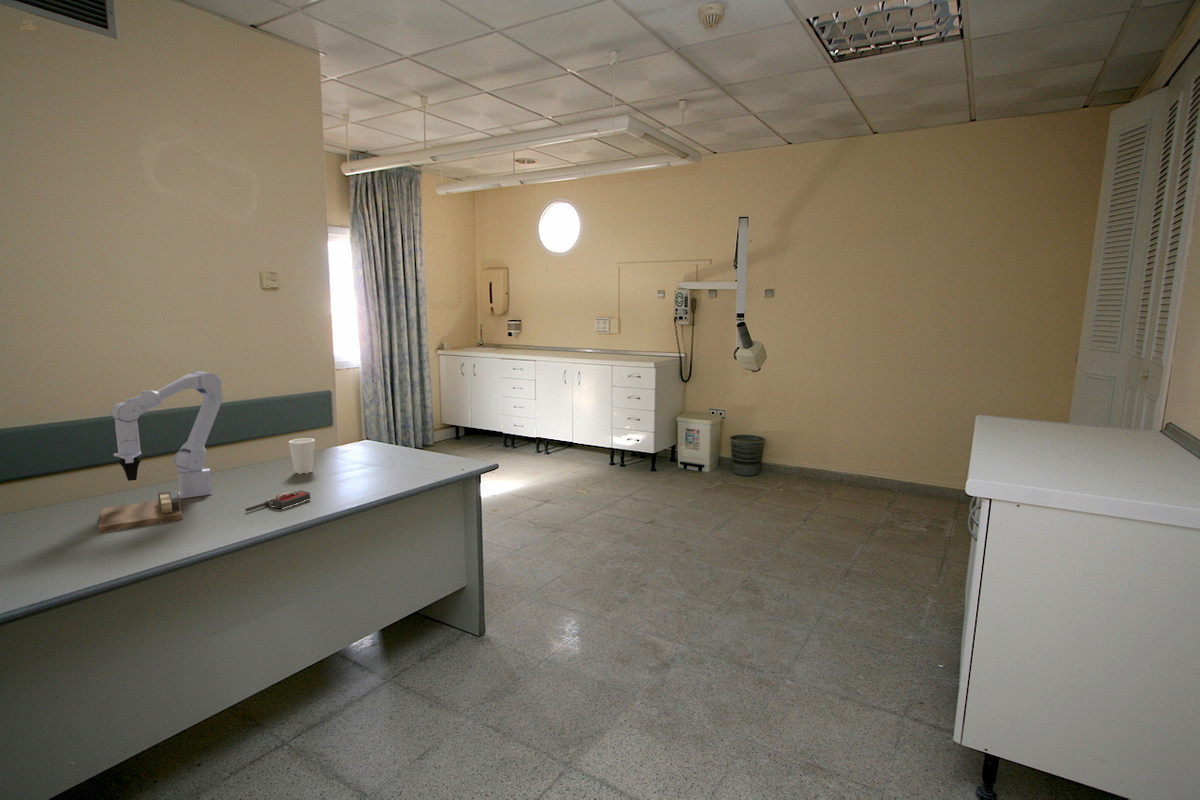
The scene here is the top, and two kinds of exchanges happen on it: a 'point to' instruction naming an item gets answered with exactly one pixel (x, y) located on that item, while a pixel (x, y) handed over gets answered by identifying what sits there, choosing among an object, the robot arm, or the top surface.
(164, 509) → the folding leg
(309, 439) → the foam cup
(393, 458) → the top surface
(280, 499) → the walkie-talkie
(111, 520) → the stool seat
